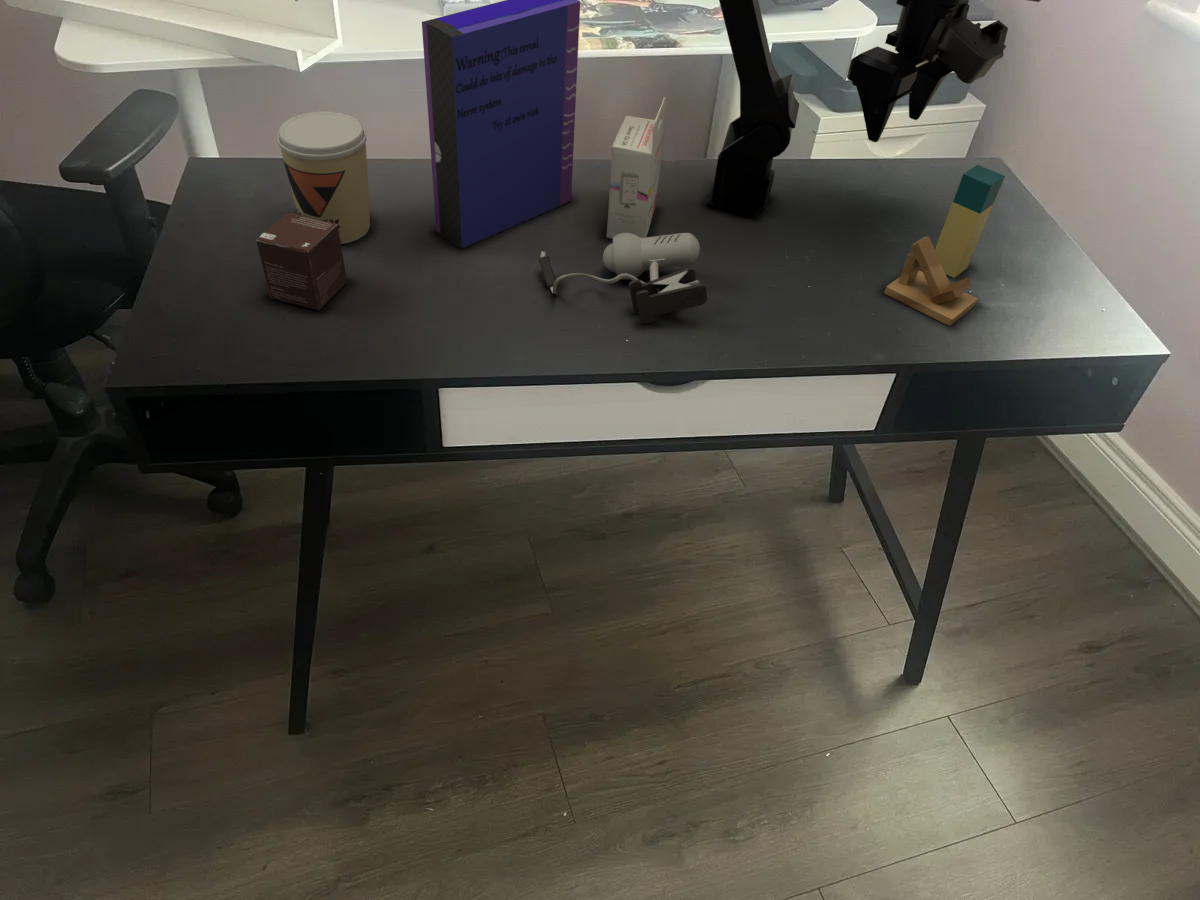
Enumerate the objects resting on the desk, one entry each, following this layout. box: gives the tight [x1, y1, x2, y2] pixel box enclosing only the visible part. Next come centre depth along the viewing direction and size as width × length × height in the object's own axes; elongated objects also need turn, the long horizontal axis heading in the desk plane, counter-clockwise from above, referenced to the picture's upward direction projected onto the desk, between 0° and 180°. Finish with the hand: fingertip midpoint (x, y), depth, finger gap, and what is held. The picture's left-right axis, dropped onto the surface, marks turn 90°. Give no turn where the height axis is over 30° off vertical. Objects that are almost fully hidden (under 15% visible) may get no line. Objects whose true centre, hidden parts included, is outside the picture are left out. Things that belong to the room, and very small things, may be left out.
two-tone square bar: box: [934, 164, 1006, 279], centre depth 105 cm, size 11×3×11 cm
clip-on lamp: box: [538, 232, 708, 325], centre depth 99 cm, size 12×6×18 cm
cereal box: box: [421, 0, 581, 250], centre depth 102 cm, size 17×5×24 cm, turn 135°
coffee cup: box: [276, 111, 371, 245], centre depth 102 cm, size 9×9×12 cm
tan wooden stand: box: [884, 235, 978, 327], centre depth 101 cm, size 8×6×6 cm
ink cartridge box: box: [605, 96, 667, 240], centre depth 106 cm, size 9×5×15 cm, turn 168°
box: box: [255, 211, 348, 312], centre depth 95 cm, size 6×6×7 cm
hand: (893, 129), depth 106 cm, fingers open, 9 cm apart
